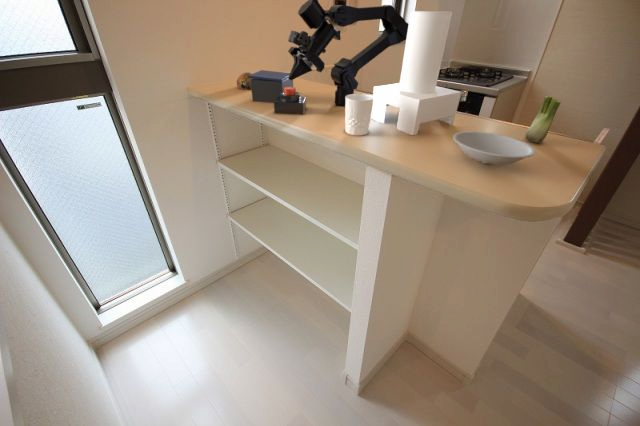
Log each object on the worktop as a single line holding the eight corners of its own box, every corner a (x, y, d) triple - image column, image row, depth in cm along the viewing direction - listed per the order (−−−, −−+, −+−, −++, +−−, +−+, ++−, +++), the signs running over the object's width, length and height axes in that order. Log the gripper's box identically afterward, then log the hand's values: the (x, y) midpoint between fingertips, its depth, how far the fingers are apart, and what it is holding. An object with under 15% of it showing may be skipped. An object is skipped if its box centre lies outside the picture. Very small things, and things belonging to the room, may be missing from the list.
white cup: (369, 128, 92) (373, 94, 87) (370, 137, 86) (374, 101, 80) (343, 126, 93) (345, 93, 87) (342, 135, 86) (345, 100, 81)
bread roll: (262, 95, 138) (265, 77, 136) (246, 89, 129) (250, 69, 127) (246, 92, 142) (249, 75, 140) (230, 86, 133) (233, 67, 131)
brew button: (296, 93, 105) (296, 86, 103) (294, 95, 101) (294, 89, 100) (285, 92, 105) (285, 86, 104) (283, 95, 102) (282, 89, 100)
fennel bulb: (543, 146, 82) (564, 101, 75) (523, 142, 84) (541, 98, 77) (542, 139, 86) (562, 96, 79) (523, 136, 88) (540, 93, 81)
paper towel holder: (412, 135, 87) (436, 12, 70) (370, 118, 100) (381, 10, 83) (452, 124, 96) (483, 12, 79) (409, 110, 109) (426, 11, 92)
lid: (248, 78, 112) (247, 75, 111) (261, 72, 122) (261, 70, 121) (281, 81, 109) (281, 79, 109) (292, 75, 119) (292, 73, 119)
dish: (531, 162, 73) (540, 143, 70) (520, 184, 64) (529, 163, 61) (458, 144, 82) (463, 126, 79) (439, 161, 73) (444, 142, 70)
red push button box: (306, 108, 109) (305, 91, 106) (303, 114, 103) (302, 96, 99) (279, 107, 110) (277, 90, 106) (274, 113, 103) (273, 95, 100)
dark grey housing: (252, 101, 116) (250, 79, 112) (265, 93, 126) (263, 73, 122) (283, 103, 114) (281, 82, 109) (293, 96, 124) (292, 75, 119)
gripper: (292, 18, 100) (263, 57, 102) (315, 21, 86) (281, 65, 88) (313, 45, 107) (286, 80, 109) (338, 51, 93) (306, 91, 95)
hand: (289, 79), depth 100 cm, fingers closed
